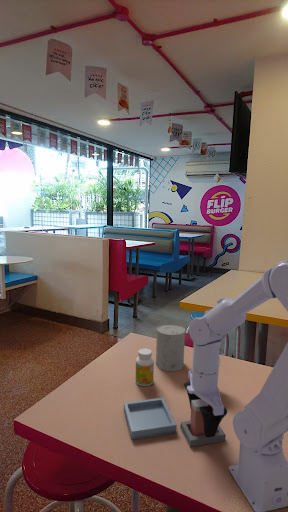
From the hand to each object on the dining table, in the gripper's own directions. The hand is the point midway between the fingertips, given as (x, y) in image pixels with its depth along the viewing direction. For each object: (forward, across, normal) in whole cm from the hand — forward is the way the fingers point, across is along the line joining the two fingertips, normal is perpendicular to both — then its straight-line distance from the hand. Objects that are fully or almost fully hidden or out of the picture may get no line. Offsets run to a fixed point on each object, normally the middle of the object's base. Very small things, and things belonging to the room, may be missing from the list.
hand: (202, 423), depth 69 cm
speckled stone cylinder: (+3, -33, +3) cm, 33 cm away
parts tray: (+3, -7, -11) cm, 13 cm away
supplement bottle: (+3, -24, -8) cm, 25 cm away
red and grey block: (+3, 0, 0) cm, 3 cm away
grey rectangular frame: (+3, 0, 0) cm, 3 cm away
